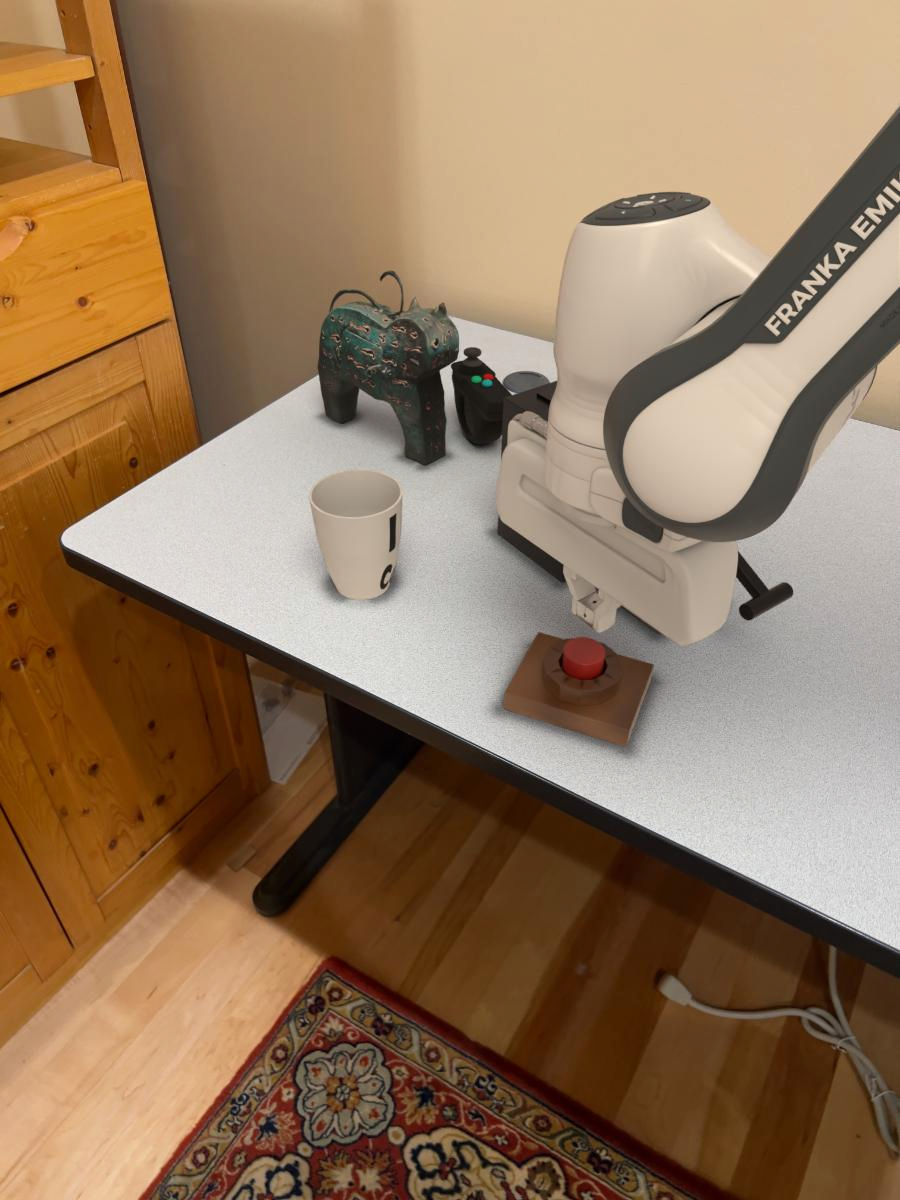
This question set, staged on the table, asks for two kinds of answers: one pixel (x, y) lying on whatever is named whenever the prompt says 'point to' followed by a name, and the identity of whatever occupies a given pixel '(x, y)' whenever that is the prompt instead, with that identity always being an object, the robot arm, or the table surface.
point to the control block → (579, 692)
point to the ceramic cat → (389, 366)
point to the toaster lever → (759, 592)
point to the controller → (478, 398)
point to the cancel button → (583, 658)
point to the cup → (358, 529)
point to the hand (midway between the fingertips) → (592, 620)
